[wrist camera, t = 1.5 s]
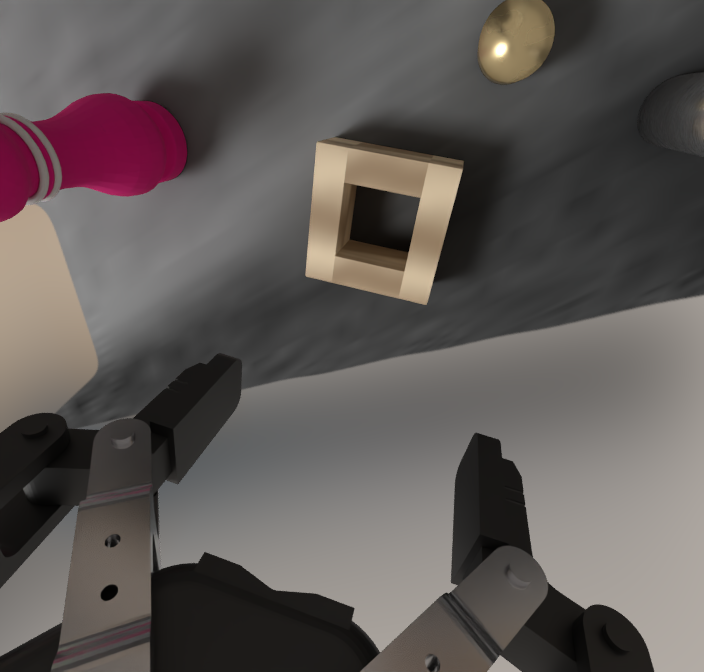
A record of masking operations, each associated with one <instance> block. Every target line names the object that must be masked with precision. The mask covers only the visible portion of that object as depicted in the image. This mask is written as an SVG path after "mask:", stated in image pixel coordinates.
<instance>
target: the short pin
mask: <svg viewBox="0 0 704 672" xmlns="http://www.w3.org/2000/svg"><path fill="white" fill-rule="evenodd" d="M554 34H555V25H554V19H553V15H552V13H551V11H550V9H549V7H548V6H547V5H546V4H545V3H544V2H543V1H542V0H506V1H504V2H503V3H501V4H500V5H499V6H498V7H497V8H496V9H495V10H494V11H493V12H492V13H491V14H490V16H489V17H488V19H487V20H486V22H485V24H484V26H483V29H482V31H481V35H480V39H479V45H478V63H479V67H480V69H481V71H482V73H483V75H484V76H485V77H486V78H487V79H488V80H490V81H491V82H493V83H496V84H500V85H507V84H512V83H515V82H518V81H520V80H522V79H524V78H526V77H528V76H530V75H531V74H532V73H534V72H535V71H536V70H537V69H538V68H539V67H540V66H541V65H542V64H543V62H544V61H545V59H546V58H547V56H548V54H549V52H550V50H551V47H552V44H553V40H554Z"/></svg>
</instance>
